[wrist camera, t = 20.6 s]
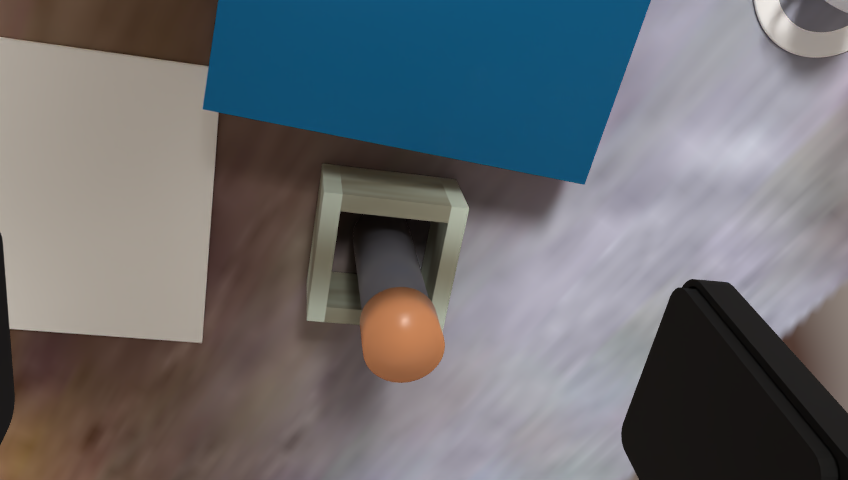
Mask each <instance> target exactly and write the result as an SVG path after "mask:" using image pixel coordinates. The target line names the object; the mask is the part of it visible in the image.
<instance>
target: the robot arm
mask: <svg viewBox="0 0 848 480" xmlns="http://www.w3.org/2000/svg"><path fill="white" fill-rule="evenodd" d="M14 402H15V394H14V381H13V368H12V355H11V342H10V329H9V316H8V303H7V290H6V277H5V264H4V251H3V240H2V235H1V233H0V445H1V442H2V440H3V438H4V436H5V434H6V432H7V430H8V428H9V425H10V423H11V419H12V416H13V410H14ZM621 435H622V444H623V448H624V450H625V452H626V454H627V456H628V458H629V460H630V462H631V464H632V466H633V468H634V470H635V472H636V474H637V476H638V478H639V480H848V413H847V412H846V411H845V410H844V409H843V408H842V406H841V405H840V404H839V403H838V402H837V401H836V400H835V399H834V398H833V396H832V395H831V394H830V393H829V392H828V391H827V390H826V389H825V388H824V386H823V385H822V384H821V383H820V382H819V381H818V380H817V379H816V378H815V376H814V375H813V374H812V373H811V372H810V371H809V370H808V369H807V368H806V367H805V365H804V364H803V363H802V362H801V361H800V360H799V359H798V358H797V357H796V355H794V353H793V352H792V351H791V350H790V349H789V348H788V347H787V345H786V344H785V343H784V342H783V341H782V340H781V339H780V338H779V337H778V335H777V334H776V333H775V332H774V331H773V330H772V329H771V328H770V327H769V325H768V324H767V323H766V322H765V321H764V320H763V319H762V318H761V317H760V315H759V314H758V313H757V312H756V311H755V310H754V309H753V308H752V307H751V305H750V304H749V303H748V302H747V301H746V300H745V299H744V298H743V297H742V296H741V294H740V293H739V292H738V291H737V290H736V289H735V288H734V287H733V286H732V285H731V284H730V283H727V282H718V281H707V280H695V279H691V280H689V281H687V282H686V283H685V284H684V285H683V287H682V288H677V289H675V290H674V291H673V292H672V294H671V296H670V299H669V302H668V304H667V307H666V310H665V312H664V315H663V318H662V320H661V323H660V326H659V328H658V331H657V334H656V337H655V339H654V342H653V345H652V347H651V350H650V353H649V355H648V358H647V361H646V363H645V366H644V369H643V371H642V374H641V377H640V379H639V382H638V385H637V388H636V390H635V393H634V396H633V398H632V401H631V404H630V406H629V409H628V412H627V414H626V417H625V420H624V422H623V426H622V433H621Z"/></svg>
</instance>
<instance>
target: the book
mask: <svg viewBox="0 0 848 480" xmlns="http://www.w3.org/2000/svg"><path fill="white" fill-rule="evenodd" d="M650 1H651V0H218V7H217V13H216V20H215V27H214V34H213V41H212V48H211V54H210V61H209V68H208V75H207V82H206V89H205V96H204V102H203V109H204V110H209V111H214V112H219V113H224V114H229V115H234V116H239V117H244V118H249V119H254V120H260V121H265V122H270V123H275V124H280V125H285V126H290V127H295V128H300V129H305V130H310V131H315V132H320V133H325V134H331V135H336V136H341V137H346V138H351V139H356V140H361V141H366V142H371V143H376V144H381V145H386V146H391V147H397V148H402V149H407V150H412V151H417V152H422V153H427V154H432V155H437V156H442V157H447V158H452V159H457V160H462V161H468V162H473V163H478V164H483V165H488V166H493V167H498V168H503V169H508V170H513V171H518V172H523V173H528V174H533V175H539V176H544V177H549V178H554V179H559V180H564V181H569V182H574V183H579V184H585V181H586V179H587V176H588V173H589V170H590V168H591V165H592V162H593V159H594V156H595V154H596V151H597V148H598V145H599V143H600V140H601V137H602V134H603V131H604V129H605V126H606V123H607V120H608V118H609V115H610V112H611V109H612V107H613V104H614V101H615V98H616V95H617V93H618V90H619V87H620V84H621V82H622V79H623V76H624V73H625V70H626V68H627V65H628V62H629V59H630V57H631V54H632V51H633V48H634V46H635V43H636V40H637V37H638V34H639V32H640V29H641V26H642V23H643V21H644V18H645V15H646V12H647V9H648V7H649V4H650Z"/></svg>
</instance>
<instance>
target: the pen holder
mask: <svg viewBox="0 0 848 480" xmlns="http://www.w3.org/2000/svg"><path fill="white" fill-rule="evenodd" d="M340 211H342V212H351V213H360V214H369V215H378V216H388V217H397V218H406V219H415V220H425V221H431V223H430V228H429V233H428V239H427V244H426V249H425V254H424V259H423V264H422V269H421V273H422V276H423V280H424V284H425V287H426V291H427V294H428V298H429V299H430V300H431V301H432V303H433V305H434V307H435V309H436V313H437V316H438V320H439V323H440V327H441V330H442V331H443V327H444V322H445V318H446V313H447V308H448V304H449V299H450V295H451V290H452V286H453V281H454V276H455V272H456V267H457V263H458V258H459V253H460V249H461V244H462V240H463V235H464V231H465V226H466V221H467V217H468V212H469V207H468V205H467V203H466V200H465V198H464V196H463V194H462V192H461V190H460V187H459V185H458V183H457V181H456V179H449V178H440V177H432V176H424V175H415V174H407V173H399V172H390V171H382V170H373V169H365V168H357V167H348V166H340V165H332V164H323V163H322V169H321V177H320V185H319V192H318V200H317V208H316V215H315V223H314V230H313V238H312V246H311V253H310V261H309V269H308V276H307V321H316V322H329V323H341V324H354V325H360V316H361V312H362V308H361V300H360V292H359V284H358V277H357V274H351V273H340V272H332V265H333V258H334V251H335V244H336V237H337V230H338V223H339V216H340Z"/></svg>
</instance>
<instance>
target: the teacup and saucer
mask: <svg viewBox="0 0 848 480" xmlns="http://www.w3.org/2000/svg"><path fill="white" fill-rule="evenodd" d="M825 1H826V2H827V3H829V4H830V5H832V6H834V7H836V8H838V9H840V10H842V11H844V12H846V13H848V0H825ZM754 6H755V10H756V14H757V17H758V20H759V22H760V24H761V26H762V28H763V29H764V31H765V32H766V34H767V35H768V36H769V38H770V39H771V40H772V41H773V42H774V43H776V44H777V45H778V46H779V47H781V48H782V49H784V50H786V51H788V52H790V53H792V54H795V55H799V56H803V57H811V58H820V57H829V56H834V55H838V54H841V53H844V52H846V51H848V26H846V27H843V28H841V29H838V30H835V31H830V32H811V31H807V30H804V29H802V28H800V27H798V26H797V25H795V24H794V23H793V22H791V21H790V20H789V19H788V17H787V16H786V15H785V13H784V12H783V10H782V8H781V5H780V3H779V0H754Z"/></svg>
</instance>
